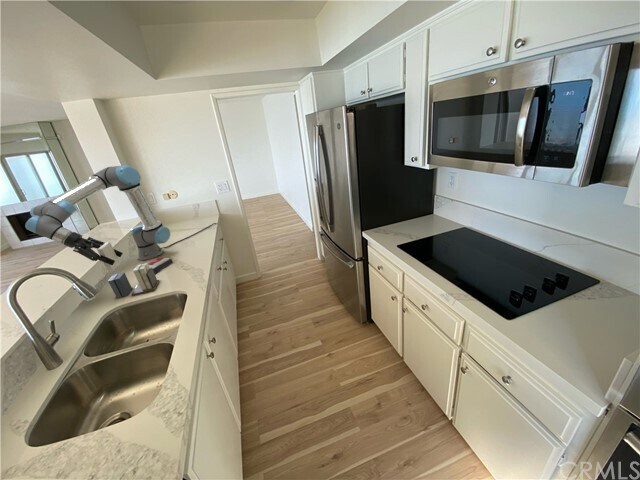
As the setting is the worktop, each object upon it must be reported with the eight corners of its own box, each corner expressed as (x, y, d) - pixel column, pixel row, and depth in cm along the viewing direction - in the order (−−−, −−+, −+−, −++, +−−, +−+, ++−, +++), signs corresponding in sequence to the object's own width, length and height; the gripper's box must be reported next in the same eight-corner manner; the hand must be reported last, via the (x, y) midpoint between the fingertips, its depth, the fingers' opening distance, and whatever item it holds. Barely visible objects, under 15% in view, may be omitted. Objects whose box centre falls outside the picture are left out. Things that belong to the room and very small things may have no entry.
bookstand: (139, 285, 153) (129, 265, 148) (159, 281, 155) (150, 260, 150) (132, 296, 143) (121, 274, 138) (154, 291, 146) (144, 269, 140)
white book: (115, 264, 144) (105, 242, 139) (120, 263, 145) (109, 241, 140) (108, 271, 136) (96, 249, 131) (113, 270, 137) (101, 248, 132)
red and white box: (171, 257, 176) (152, 267, 163) (173, 263, 177) (154, 274, 164) (158, 257, 179) (139, 267, 166) (160, 262, 181) (141, 273, 167)
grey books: (121, 291, 150) (113, 274, 145) (132, 288, 151) (124, 272, 146) (116, 298, 143) (107, 281, 139) (127, 295, 145) (119, 278, 140)
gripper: (77, 236, 140) (122, 255, 150) (50, 252, 121) (104, 274, 130) (83, 224, 139) (129, 245, 149) (57, 239, 120) (112, 262, 129)
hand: (117, 259), depth 140 cm, fingers closed on white book, 9 cm apart
